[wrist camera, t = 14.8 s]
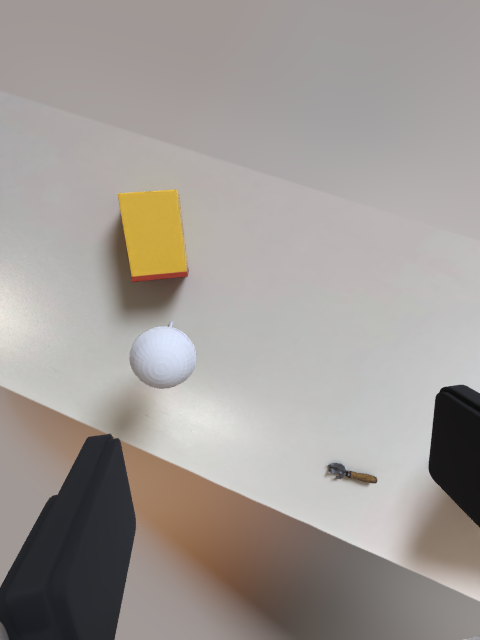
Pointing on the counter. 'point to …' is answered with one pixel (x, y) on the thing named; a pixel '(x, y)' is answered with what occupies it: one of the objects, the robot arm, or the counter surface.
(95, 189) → the counter surface
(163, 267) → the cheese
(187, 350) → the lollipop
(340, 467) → the can opener
